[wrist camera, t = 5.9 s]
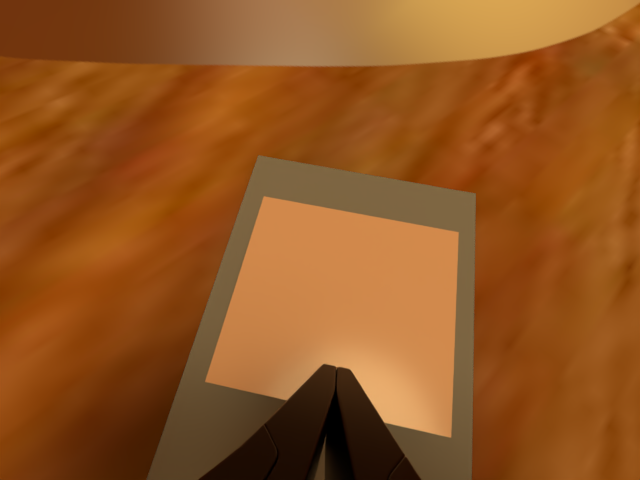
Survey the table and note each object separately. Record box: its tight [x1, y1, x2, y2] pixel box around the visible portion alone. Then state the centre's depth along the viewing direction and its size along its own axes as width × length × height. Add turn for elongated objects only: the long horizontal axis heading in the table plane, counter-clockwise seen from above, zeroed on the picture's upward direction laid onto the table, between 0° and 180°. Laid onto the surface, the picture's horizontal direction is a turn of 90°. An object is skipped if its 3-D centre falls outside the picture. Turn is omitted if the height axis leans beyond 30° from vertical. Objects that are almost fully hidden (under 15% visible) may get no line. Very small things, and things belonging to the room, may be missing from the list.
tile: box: [205, 196, 459, 438], centre depth 16 cm, size 3×10×9 cm
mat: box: [146, 155, 476, 480], centre depth 18 cm, size 18×14×1 cm
